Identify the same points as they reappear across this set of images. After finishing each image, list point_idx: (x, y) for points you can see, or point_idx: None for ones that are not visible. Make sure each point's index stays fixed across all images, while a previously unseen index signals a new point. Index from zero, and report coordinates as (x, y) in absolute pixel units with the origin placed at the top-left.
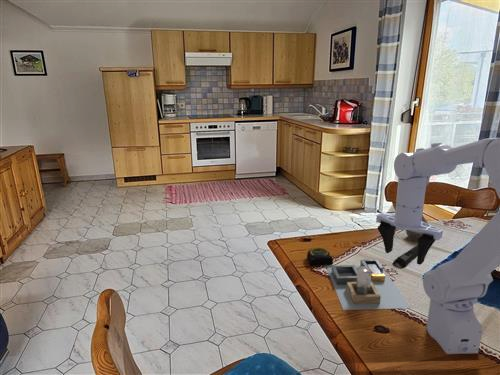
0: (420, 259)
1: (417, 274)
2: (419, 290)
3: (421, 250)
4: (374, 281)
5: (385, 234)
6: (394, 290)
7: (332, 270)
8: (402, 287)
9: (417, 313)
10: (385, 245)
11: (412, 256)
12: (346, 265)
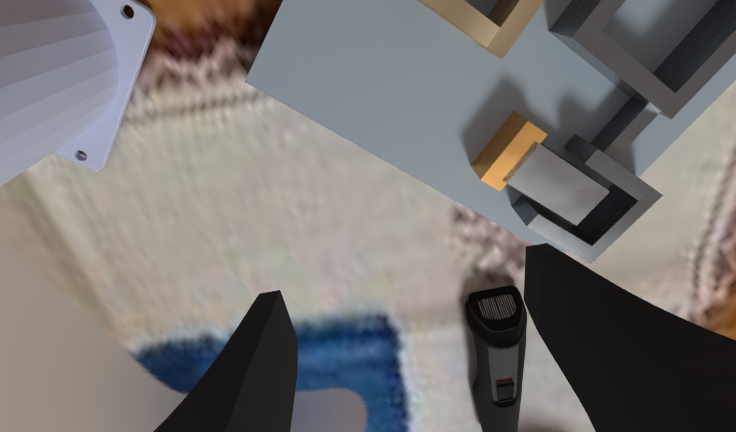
0: (238, 326)
1: (414, 322)
2: (339, 244)
3: (198, 407)
4: (506, 120)
5: (698, 377)
6: (391, 139)
7: None
8: (397, 206)
9: (225, 93)
10: (589, 278)
11: (485, 389)
12: (713, 73)
